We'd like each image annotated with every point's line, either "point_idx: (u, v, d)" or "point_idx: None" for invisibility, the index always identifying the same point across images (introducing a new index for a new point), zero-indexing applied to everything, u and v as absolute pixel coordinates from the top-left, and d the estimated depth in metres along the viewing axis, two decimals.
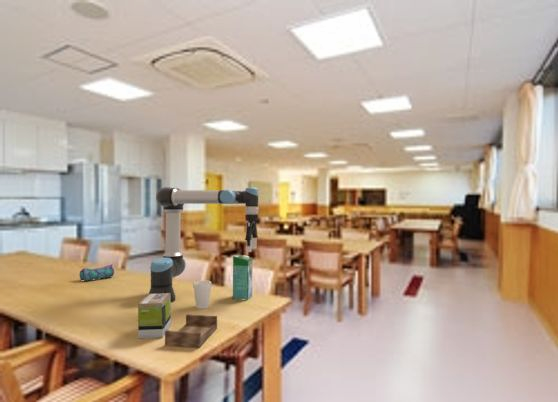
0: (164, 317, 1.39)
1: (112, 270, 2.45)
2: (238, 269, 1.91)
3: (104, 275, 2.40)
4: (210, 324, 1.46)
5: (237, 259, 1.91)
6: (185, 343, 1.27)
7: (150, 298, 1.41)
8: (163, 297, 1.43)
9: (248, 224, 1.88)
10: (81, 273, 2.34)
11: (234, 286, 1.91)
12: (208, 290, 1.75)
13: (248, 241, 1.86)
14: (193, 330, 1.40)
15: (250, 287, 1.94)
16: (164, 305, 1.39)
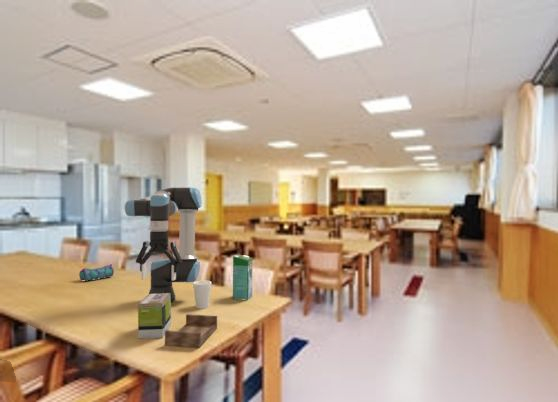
0: (164, 317, 1.39)
1: (112, 270, 2.45)
2: (238, 269, 1.91)
3: (104, 275, 2.41)
4: (210, 324, 1.46)
5: (237, 259, 1.91)
6: (185, 343, 1.27)
7: (150, 298, 1.41)
8: (163, 297, 1.43)
9: None
10: (81, 273, 2.33)
11: (234, 286, 1.91)
12: (208, 290, 1.75)
13: None
14: (193, 330, 1.40)
15: (250, 287, 1.94)
16: (164, 305, 1.39)
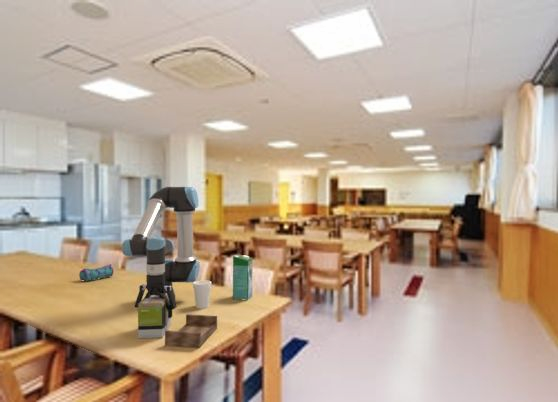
0: (164, 317, 1.39)
1: (112, 270, 2.46)
2: (238, 269, 1.91)
3: (104, 275, 2.41)
4: (210, 324, 1.46)
5: (237, 259, 1.91)
6: (185, 343, 1.27)
7: (150, 298, 1.41)
8: None
9: None
10: (82, 273, 2.32)
11: (234, 286, 1.91)
12: (208, 290, 1.75)
13: None
14: (193, 330, 1.40)
15: (250, 287, 1.94)
16: (164, 305, 1.39)
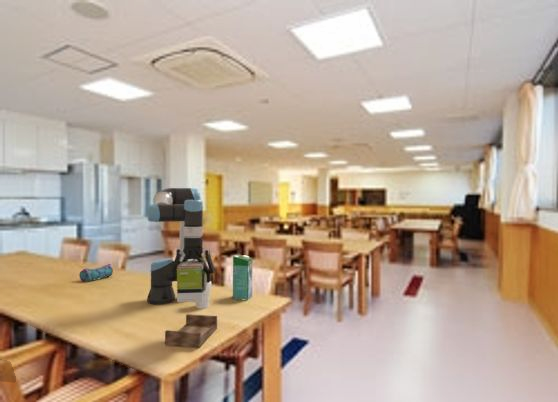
0: (203, 281, 1.34)
1: (111, 269, 2.47)
2: (238, 269, 1.91)
3: (104, 275, 2.42)
4: (210, 324, 1.46)
5: (237, 259, 1.91)
6: (185, 343, 1.27)
7: (188, 262, 1.36)
8: None
9: None
10: (82, 274, 2.32)
11: (234, 286, 1.91)
12: (208, 290, 1.75)
13: None
14: (193, 330, 1.40)
15: (250, 287, 1.94)
16: (203, 268, 1.34)
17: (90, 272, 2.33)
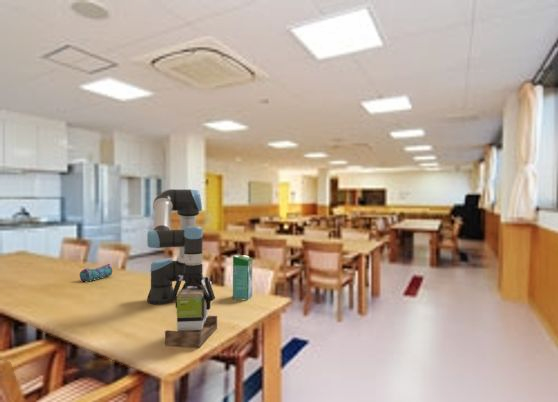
0: (203, 308, 1.34)
1: (111, 269, 2.48)
2: (238, 269, 1.91)
3: (104, 274, 2.42)
4: (210, 324, 1.46)
5: (237, 259, 1.91)
6: (185, 343, 1.27)
7: (188, 289, 1.36)
8: None
9: None
10: (83, 274, 2.31)
11: (234, 286, 1.91)
12: None
13: None
14: (193, 330, 1.40)
15: (250, 287, 1.94)
16: (203, 296, 1.34)
17: (91, 272, 2.33)
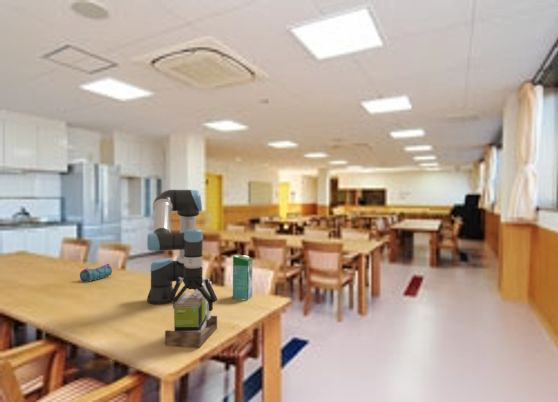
0: (200, 318, 1.33)
1: (110, 269, 2.48)
2: (238, 269, 1.91)
3: (104, 274, 2.42)
4: (210, 324, 1.46)
5: (237, 259, 1.91)
6: (185, 343, 1.27)
7: (186, 298, 1.36)
8: (199, 297, 1.37)
9: None
10: (83, 274, 2.31)
11: (234, 286, 1.91)
12: None
13: None
14: None
15: (250, 287, 1.94)
16: (200, 305, 1.34)
17: (91, 272, 2.33)
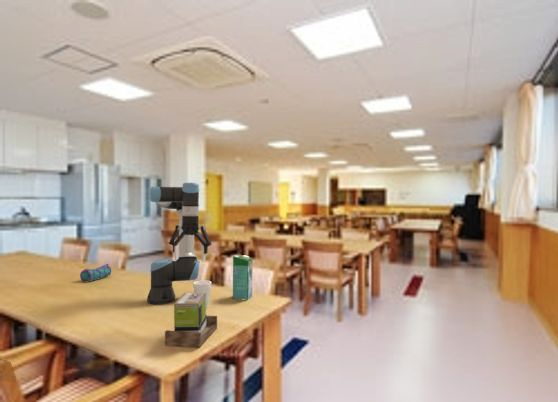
0: (200, 318, 1.33)
1: (110, 269, 2.48)
2: (238, 269, 1.91)
3: (104, 274, 2.43)
4: (210, 324, 1.46)
5: (237, 259, 1.91)
6: (185, 343, 1.27)
7: (186, 298, 1.36)
8: (199, 297, 1.37)
9: None
10: (83, 274, 2.31)
11: (234, 286, 1.91)
12: (208, 290, 1.75)
13: None
14: None
15: (250, 287, 1.94)
16: (200, 305, 1.34)
17: (92, 272, 2.33)
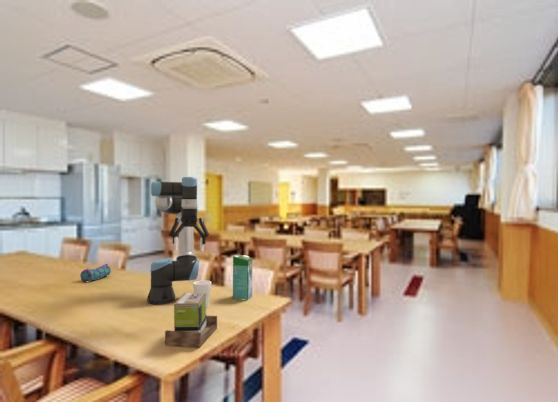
0: (200, 318, 1.33)
1: (109, 269, 2.49)
2: (238, 269, 1.91)
3: (104, 274, 2.43)
4: (210, 324, 1.46)
5: (237, 259, 1.91)
6: (185, 343, 1.27)
7: (186, 298, 1.36)
8: (199, 297, 1.37)
9: None
10: (84, 274, 2.31)
11: (234, 286, 1.91)
12: (208, 290, 1.75)
13: None
14: None
15: (250, 287, 1.94)
16: (200, 305, 1.34)
17: (92, 272, 2.33)
